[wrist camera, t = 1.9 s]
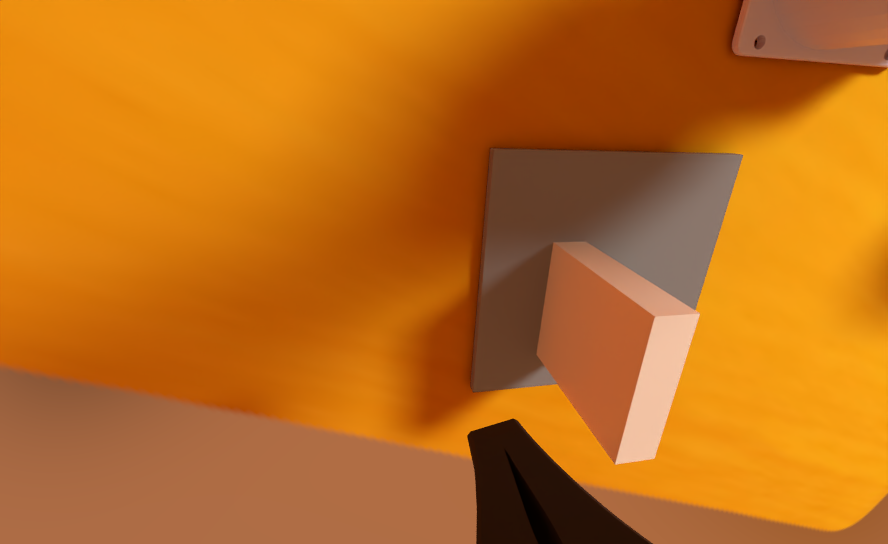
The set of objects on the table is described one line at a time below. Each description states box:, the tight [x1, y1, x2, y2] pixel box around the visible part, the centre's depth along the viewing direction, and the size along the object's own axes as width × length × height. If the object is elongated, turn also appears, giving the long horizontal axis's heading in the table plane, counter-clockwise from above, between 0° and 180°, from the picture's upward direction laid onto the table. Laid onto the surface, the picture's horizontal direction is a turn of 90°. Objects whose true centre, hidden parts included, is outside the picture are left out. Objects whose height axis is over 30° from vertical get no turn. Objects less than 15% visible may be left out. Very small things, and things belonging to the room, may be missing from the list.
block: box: [536, 242, 700, 464], centre depth 17 cm, size 2×6×7 cm, turn 177°
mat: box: [470, 148, 743, 392], centre depth 21 cm, size 12×12×1 cm
